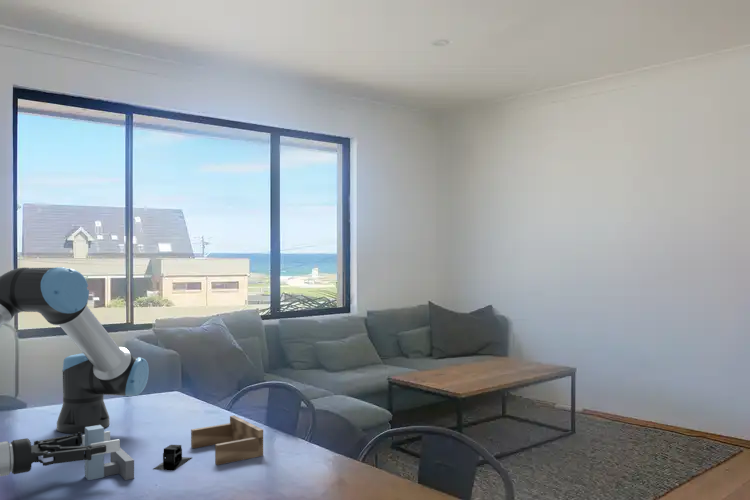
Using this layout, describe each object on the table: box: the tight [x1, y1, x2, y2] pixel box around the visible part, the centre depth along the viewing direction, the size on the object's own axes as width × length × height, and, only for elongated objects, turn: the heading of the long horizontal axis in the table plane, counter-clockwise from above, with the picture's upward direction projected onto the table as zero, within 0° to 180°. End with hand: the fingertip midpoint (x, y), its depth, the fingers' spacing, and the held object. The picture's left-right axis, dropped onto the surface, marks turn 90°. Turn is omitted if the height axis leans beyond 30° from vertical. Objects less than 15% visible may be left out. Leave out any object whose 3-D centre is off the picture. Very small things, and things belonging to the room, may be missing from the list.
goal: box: [190, 415, 264, 466], centre depth 179 cm, size 19×13×7 cm
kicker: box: [84, 425, 135, 481], centre depth 161 cm, size 14×9×12 cm, turn 36°
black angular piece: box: [152, 444, 193, 472], centre depth 169 cm, size 13×8×5 cm, turn 170°
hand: (114, 440), depth 162 cm, fingers open, 8 cm apart
